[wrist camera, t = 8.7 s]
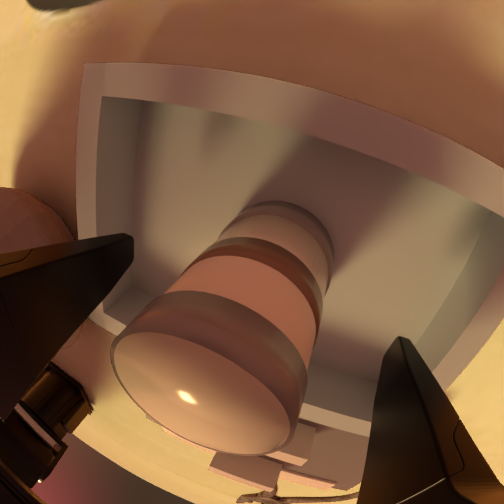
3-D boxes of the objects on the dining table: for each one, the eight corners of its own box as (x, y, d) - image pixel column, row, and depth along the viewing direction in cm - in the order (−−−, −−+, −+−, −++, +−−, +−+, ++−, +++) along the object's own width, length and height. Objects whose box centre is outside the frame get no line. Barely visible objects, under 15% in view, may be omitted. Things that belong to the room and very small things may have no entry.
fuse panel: (159, 401, 21) (133, 438, 18) (157, 320, 17) (116, 366, 13) (348, 470, 18) (339, 513, 15) (418, 413, 14) (418, 472, 10)
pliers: (392, 483, 17) (302, 522, 27) (392, 474, 18) (304, 517, 28) (285, 457, 19) (234, 502, 29) (288, 449, 20) (236, 497, 30)
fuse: (218, 279, 13) (121, 405, 7) (237, 185, 11) (99, 291, 5) (313, 314, 12) (264, 470, 6) (350, 223, 10) (330, 389, 4)
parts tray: (122, 290, 16) (89, 319, 14) (135, 65, 10) (84, 63, 8) (392, 395, 14) (390, 441, 11) (520, 183, 8) (560, 208, 5)
